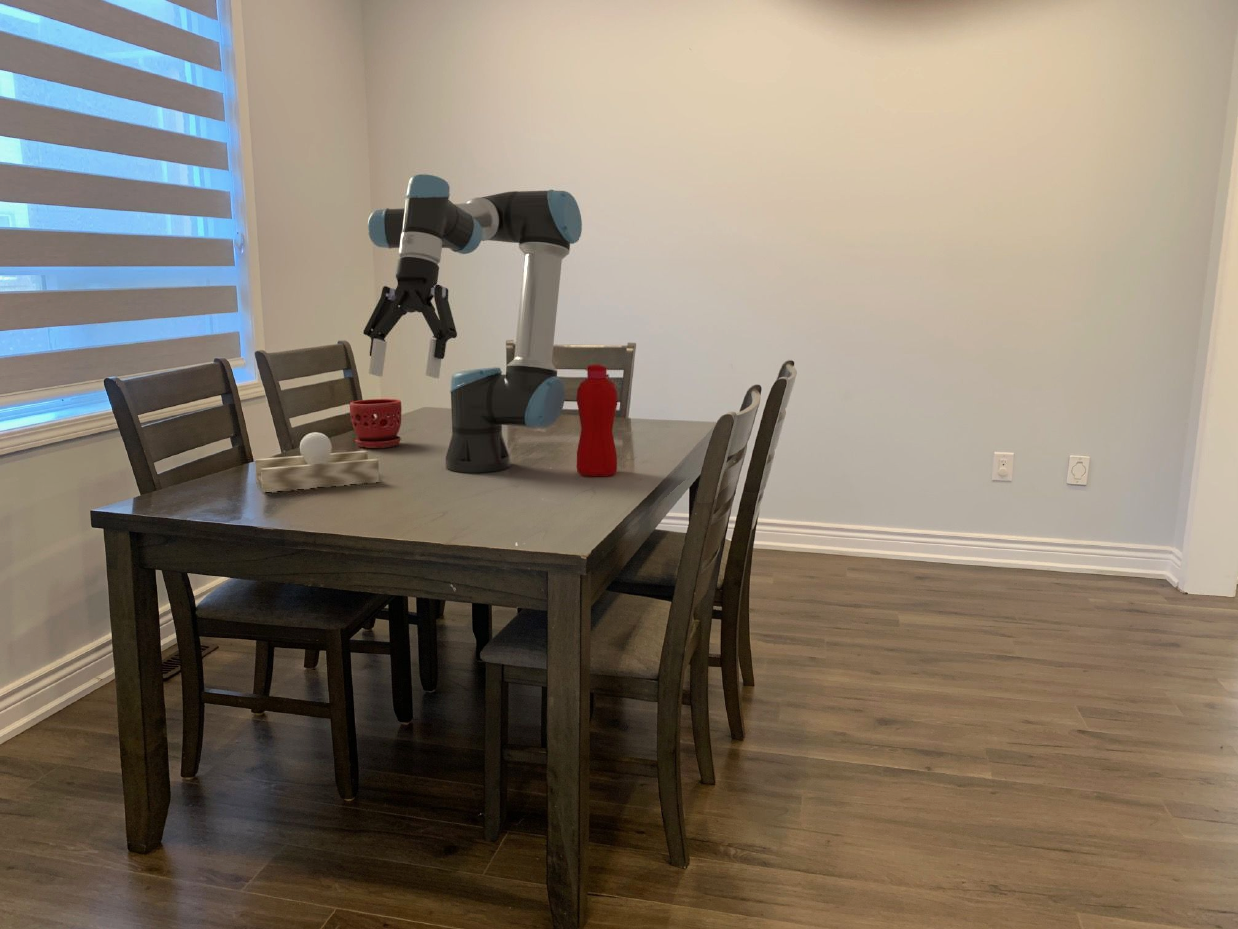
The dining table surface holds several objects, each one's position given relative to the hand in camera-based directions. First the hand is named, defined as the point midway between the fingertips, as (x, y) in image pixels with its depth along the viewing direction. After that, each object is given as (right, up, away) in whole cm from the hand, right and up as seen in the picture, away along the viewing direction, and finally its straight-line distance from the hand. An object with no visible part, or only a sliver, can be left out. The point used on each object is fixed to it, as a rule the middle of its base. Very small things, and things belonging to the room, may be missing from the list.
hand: (403, 376), depth 172 cm
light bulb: (-27, -20, +36) cm, 49 cm away
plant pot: (-25, -11, +79) cm, 83 cm away
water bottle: (+35, -18, +47) cm, 61 cm away
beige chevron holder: (-27, -20, +36) cm, 49 cm away
